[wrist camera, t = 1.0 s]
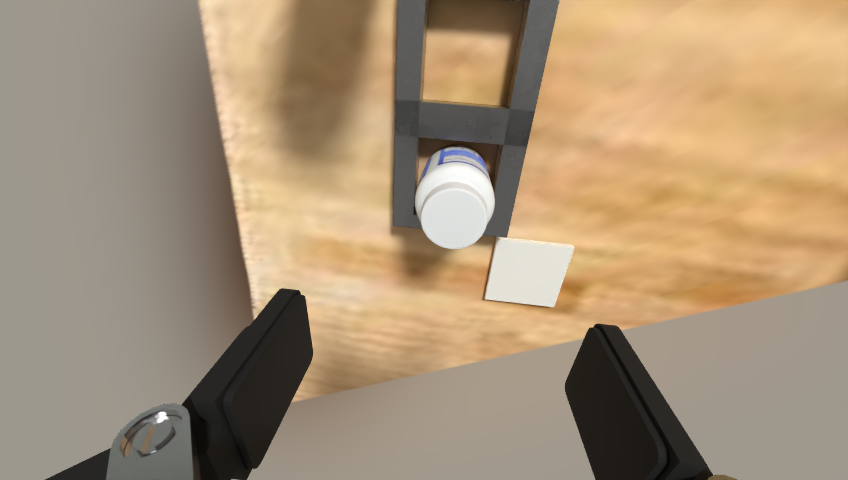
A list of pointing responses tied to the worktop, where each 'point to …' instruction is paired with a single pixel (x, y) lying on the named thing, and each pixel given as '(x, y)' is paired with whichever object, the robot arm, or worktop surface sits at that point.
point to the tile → (527, 271)
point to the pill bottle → (454, 197)
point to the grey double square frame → (466, 111)
